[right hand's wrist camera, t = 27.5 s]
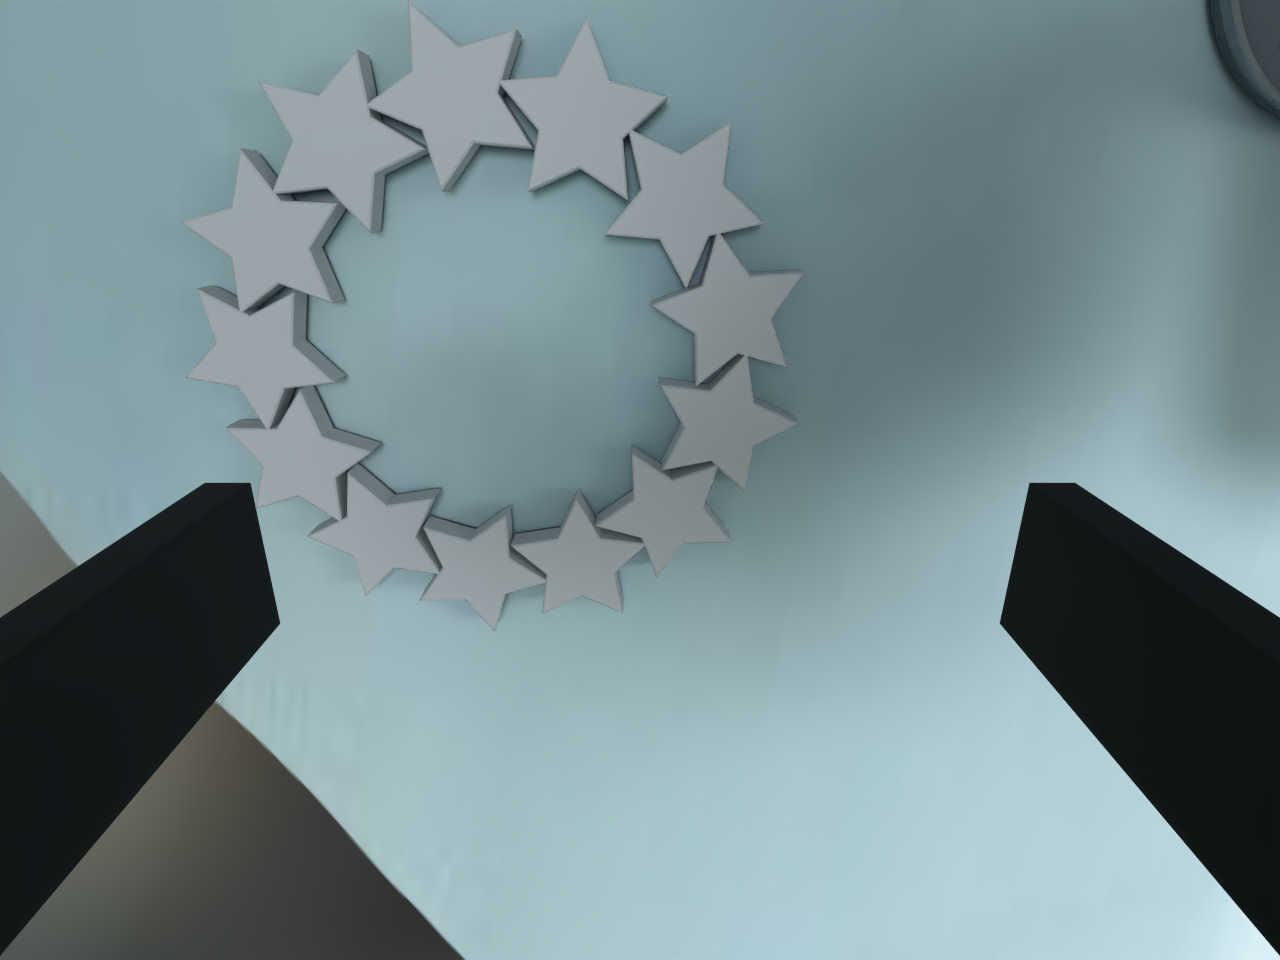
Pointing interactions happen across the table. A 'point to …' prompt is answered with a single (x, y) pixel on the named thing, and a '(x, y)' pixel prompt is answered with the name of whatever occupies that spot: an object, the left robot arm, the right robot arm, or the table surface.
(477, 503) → the table surface
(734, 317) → the decorative wreath
